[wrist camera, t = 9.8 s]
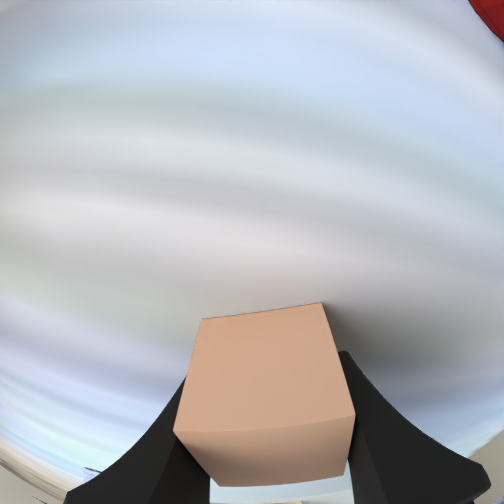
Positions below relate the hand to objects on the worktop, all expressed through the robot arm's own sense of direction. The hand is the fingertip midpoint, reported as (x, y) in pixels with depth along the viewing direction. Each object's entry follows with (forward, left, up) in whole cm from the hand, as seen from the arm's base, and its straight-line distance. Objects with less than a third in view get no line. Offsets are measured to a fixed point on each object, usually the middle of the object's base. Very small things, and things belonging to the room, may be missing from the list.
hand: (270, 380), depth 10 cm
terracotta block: (0, 0, -1) cm, 1 cm away
